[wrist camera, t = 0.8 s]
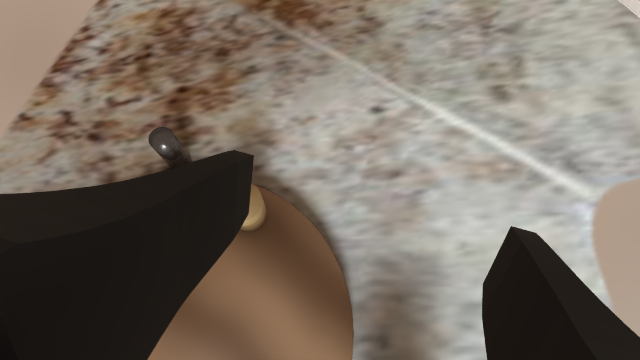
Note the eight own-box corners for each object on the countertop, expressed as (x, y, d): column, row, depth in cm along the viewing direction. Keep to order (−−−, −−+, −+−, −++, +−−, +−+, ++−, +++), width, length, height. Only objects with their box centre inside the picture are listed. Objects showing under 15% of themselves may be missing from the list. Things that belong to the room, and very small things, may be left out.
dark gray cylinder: (238, 470, 24) (225, 500, 20) (42, 371, 26) (-4, 381, 22) (344, 219, 29) (350, 205, 25) (175, 146, 30) (156, 123, 27)
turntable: (269, 583, 23) (259, 655, 18) (-33, 421, 24) (-115, 449, 20) (394, 250, 28) (412, 237, 24) (142, 141, 30) (112, 109, 25)
